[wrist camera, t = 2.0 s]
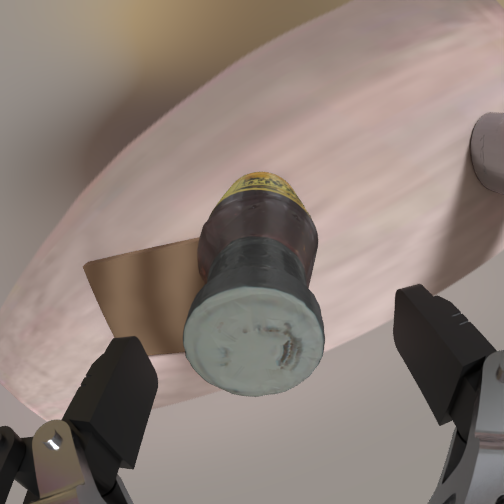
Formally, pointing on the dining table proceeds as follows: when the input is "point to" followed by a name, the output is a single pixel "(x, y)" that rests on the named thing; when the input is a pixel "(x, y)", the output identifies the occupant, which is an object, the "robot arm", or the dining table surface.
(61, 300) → the dining table surface
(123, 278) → the walnut board
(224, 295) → the sauce bottle
